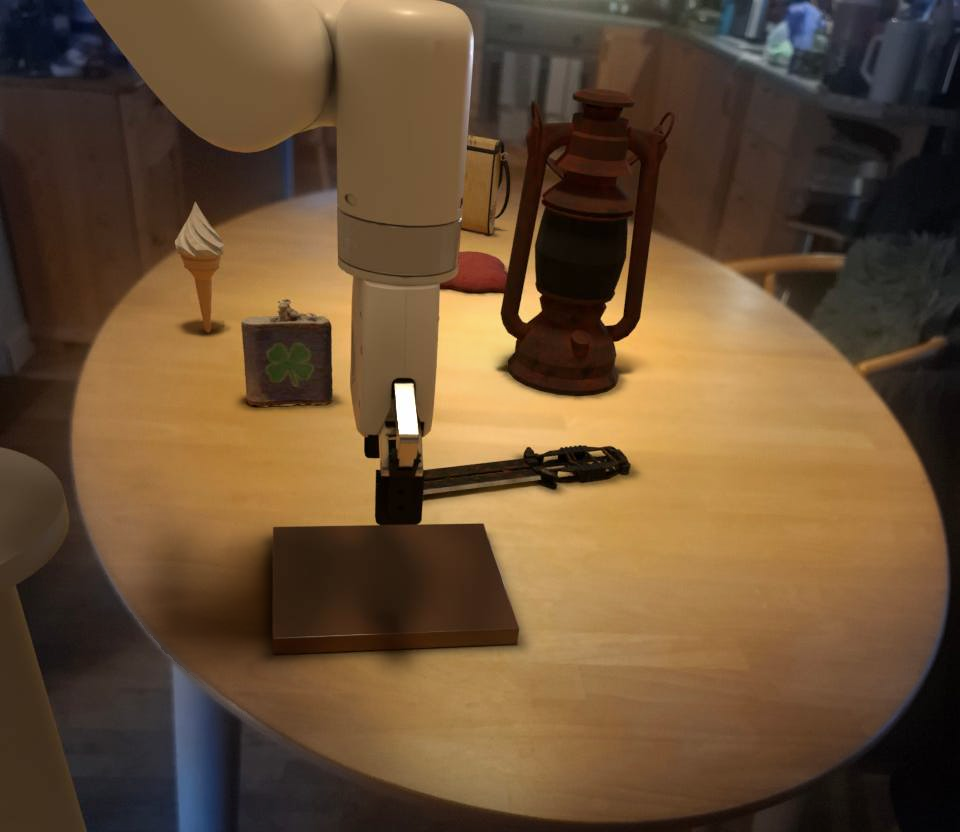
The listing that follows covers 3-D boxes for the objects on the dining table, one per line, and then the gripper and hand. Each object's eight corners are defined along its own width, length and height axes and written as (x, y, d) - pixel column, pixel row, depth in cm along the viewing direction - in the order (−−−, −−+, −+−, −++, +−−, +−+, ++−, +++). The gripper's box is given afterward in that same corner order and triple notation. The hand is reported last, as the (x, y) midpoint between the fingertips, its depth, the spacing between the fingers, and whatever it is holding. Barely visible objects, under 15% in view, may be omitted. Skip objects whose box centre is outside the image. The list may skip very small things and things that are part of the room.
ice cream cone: (176, 328, 110) (160, 197, 101) (217, 321, 114) (205, 193, 104) (199, 343, 107) (184, 209, 98) (240, 335, 111) (230, 204, 101)
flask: (247, 407, 95) (240, 306, 88) (245, 396, 97) (238, 296, 90) (334, 405, 97) (333, 306, 91) (330, 394, 99) (329, 296, 93)
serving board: (273, 654, 64) (272, 638, 63) (273, 541, 75) (272, 526, 74) (517, 644, 67) (519, 628, 66) (482, 537, 79) (483, 523, 78)
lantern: (505, 394, 103) (539, 96, 85) (484, 350, 114) (510, 76, 95) (646, 396, 107) (708, 109, 88) (612, 352, 117) (661, 88, 99)
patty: (519, 295, 133) (520, 281, 131) (427, 291, 130) (427, 277, 129) (499, 260, 146) (501, 247, 145) (415, 256, 144) (416, 243, 142)
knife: (394, 503, 82) (394, 489, 81) (378, 469, 87) (378, 456, 86) (638, 482, 89) (641, 470, 89) (611, 452, 94) (614, 440, 93)
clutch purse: (512, 230, 161) (521, 137, 152) (496, 238, 156) (505, 143, 147) (369, 200, 169) (370, 110, 160) (350, 207, 164) (350, 114, 155)
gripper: (330, 204, 61) (333, 435, 71) (346, 285, 48) (347, 553, 58) (439, 209, 62) (426, 435, 73) (483, 290, 49) (459, 551, 60)
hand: (391, 487), depth 65 cm, fingers open, 9 cm apart
